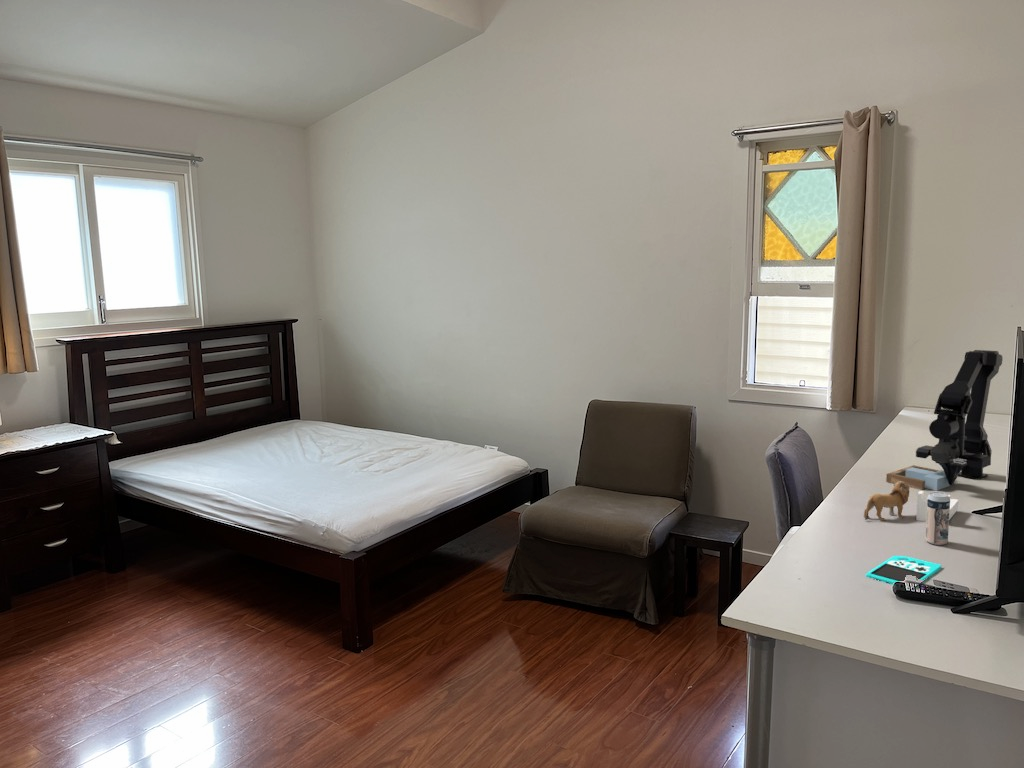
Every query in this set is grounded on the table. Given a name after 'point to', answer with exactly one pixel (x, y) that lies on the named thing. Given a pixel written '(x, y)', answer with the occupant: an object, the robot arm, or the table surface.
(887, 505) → the lion figurine
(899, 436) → the table surface
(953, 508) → the bracket
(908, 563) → the handheld game console
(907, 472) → the t block
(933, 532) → the printed cylindrical canister
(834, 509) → the table surface
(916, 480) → the pocket
